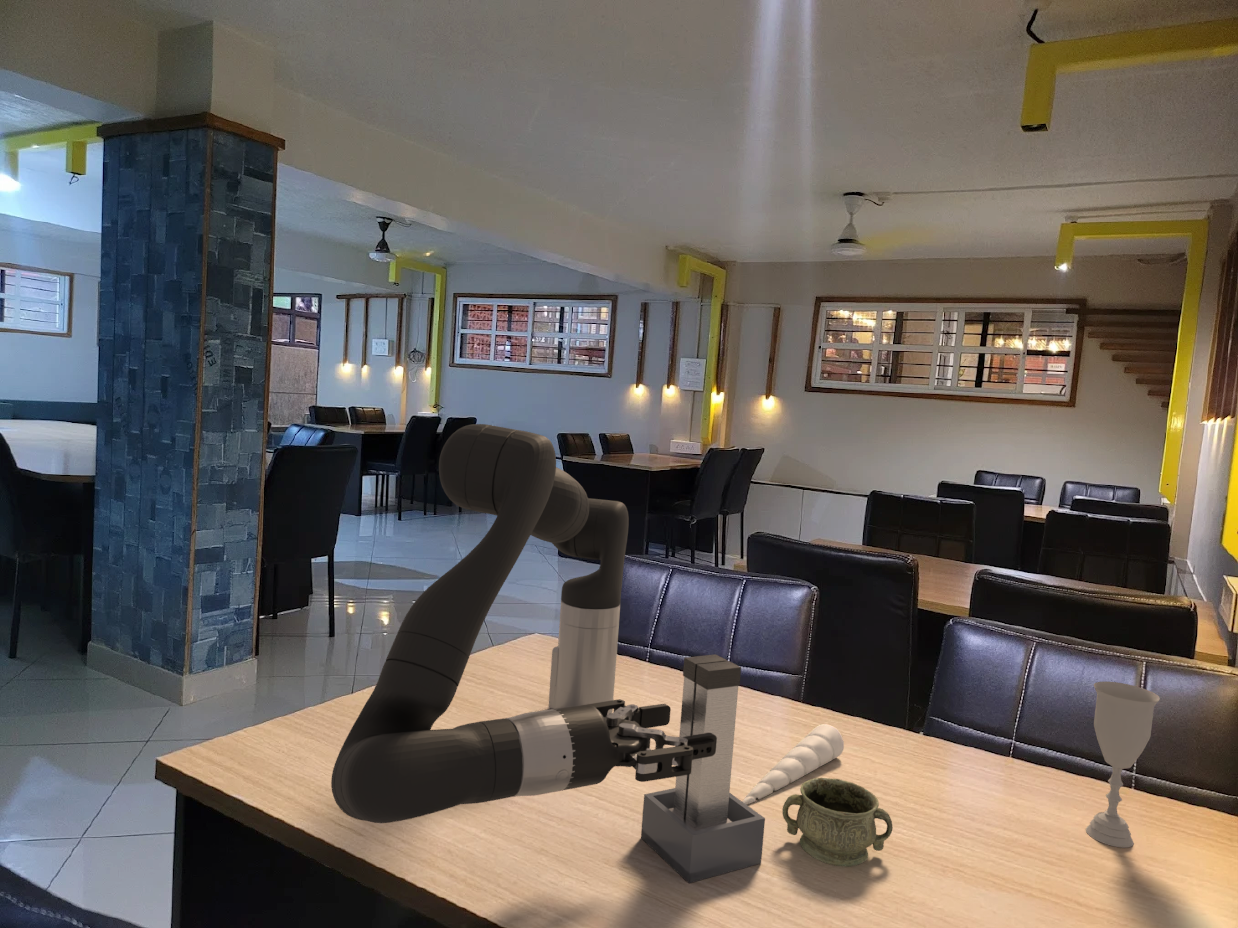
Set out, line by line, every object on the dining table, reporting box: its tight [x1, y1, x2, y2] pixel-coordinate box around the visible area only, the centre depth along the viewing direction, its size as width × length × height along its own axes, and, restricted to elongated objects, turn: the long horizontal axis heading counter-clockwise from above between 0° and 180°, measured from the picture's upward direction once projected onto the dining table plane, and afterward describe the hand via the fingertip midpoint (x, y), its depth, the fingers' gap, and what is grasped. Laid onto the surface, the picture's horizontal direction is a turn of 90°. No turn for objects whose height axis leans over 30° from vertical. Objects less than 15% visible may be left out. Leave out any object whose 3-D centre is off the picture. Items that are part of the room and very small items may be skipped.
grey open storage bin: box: [640, 787, 766, 884], centre depth 89 cm, size 9×9×5 cm
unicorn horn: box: [741, 723, 845, 806], centre depth 109 cm, size 5×24×5 cm, turn 136°
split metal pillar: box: [669, 654, 742, 831], centre depth 88 cm, size 5×5×20 cm
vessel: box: [781, 777, 893, 867], centre depth 92 cm, size 12×9×6 cm
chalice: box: [1085, 680, 1161, 848], centre depth 98 cm, size 7×7×18 cm
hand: (690, 727), depth 87 cm, fingers open, 8 cm apart
